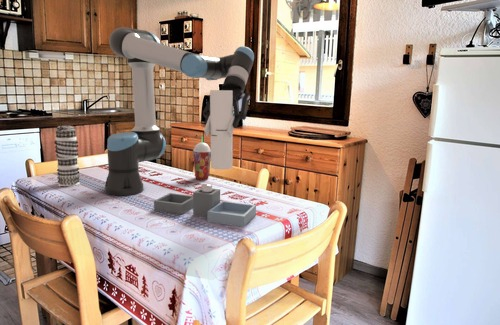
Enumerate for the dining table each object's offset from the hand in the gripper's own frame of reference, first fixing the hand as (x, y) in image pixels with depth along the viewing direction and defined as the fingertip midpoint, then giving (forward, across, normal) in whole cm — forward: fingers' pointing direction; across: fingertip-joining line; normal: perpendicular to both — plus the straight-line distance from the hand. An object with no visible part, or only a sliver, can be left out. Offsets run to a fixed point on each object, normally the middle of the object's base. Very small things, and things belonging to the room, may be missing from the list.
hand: (217, 133), depth 123 cm
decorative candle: (+7, +76, -31) cm, 82 cm away
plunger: (+12, +6, -19) cm, 24 cm away
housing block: (+17, +6, -23) cm, 29 cm away
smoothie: (-15, +29, -55) cm, 64 cm away
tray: (+18, -4, -22) cm, 29 cm away
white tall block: (+6, 0, -11) cm, 12 cm away
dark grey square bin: (+16, +19, -24) cm, 34 cm away
